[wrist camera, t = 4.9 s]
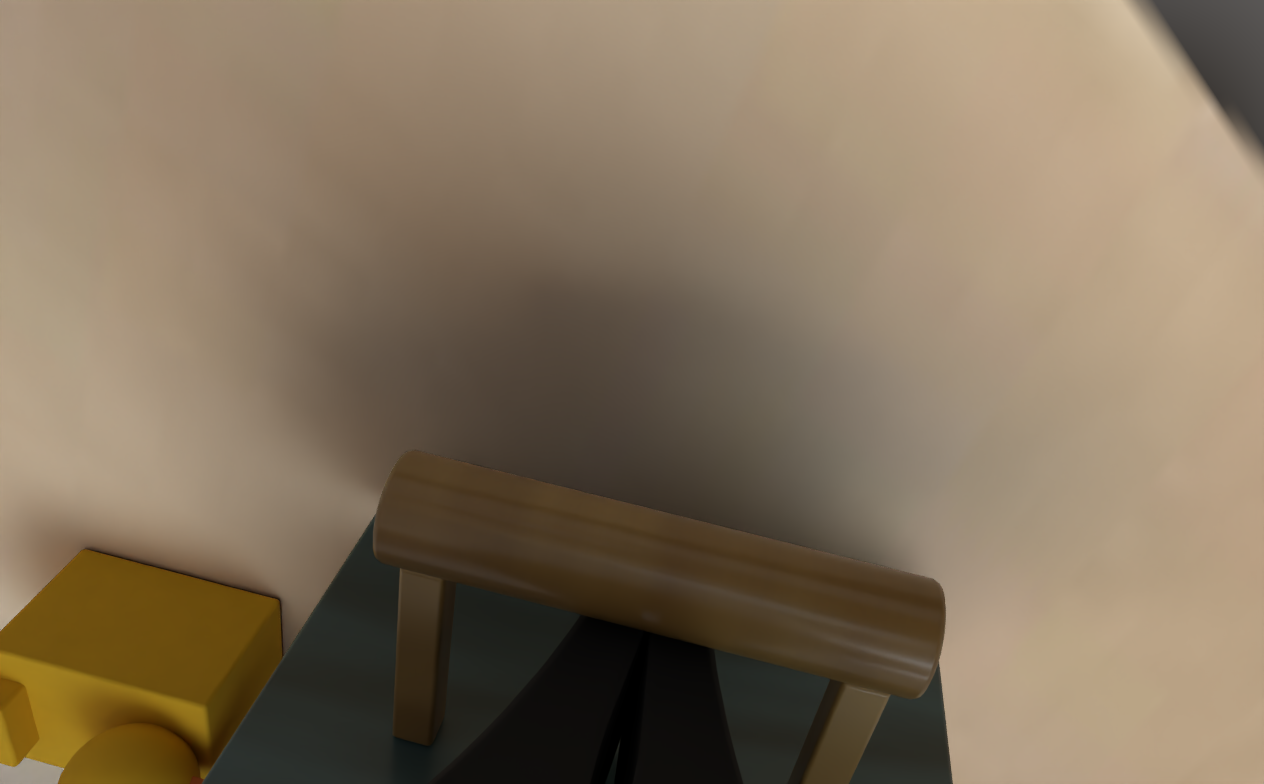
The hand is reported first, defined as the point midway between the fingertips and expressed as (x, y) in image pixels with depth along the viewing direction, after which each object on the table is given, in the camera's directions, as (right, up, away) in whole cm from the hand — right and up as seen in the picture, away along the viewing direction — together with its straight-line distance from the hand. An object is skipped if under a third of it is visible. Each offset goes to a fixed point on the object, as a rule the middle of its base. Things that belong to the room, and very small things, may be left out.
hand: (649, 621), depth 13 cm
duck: (-10, -2, +9) cm, 14 cm away
